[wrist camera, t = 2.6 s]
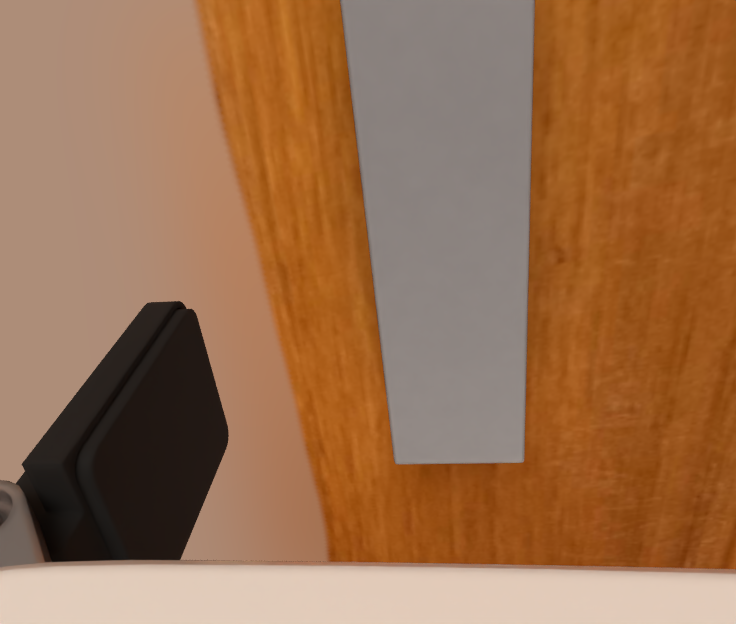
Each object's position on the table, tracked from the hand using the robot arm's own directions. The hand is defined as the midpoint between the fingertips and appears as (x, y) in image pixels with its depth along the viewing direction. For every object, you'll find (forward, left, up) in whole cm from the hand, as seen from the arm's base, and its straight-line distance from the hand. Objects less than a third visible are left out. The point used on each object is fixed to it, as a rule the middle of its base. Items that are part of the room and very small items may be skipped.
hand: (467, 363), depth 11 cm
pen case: (0, 0, -8) cm, 8 cm away
